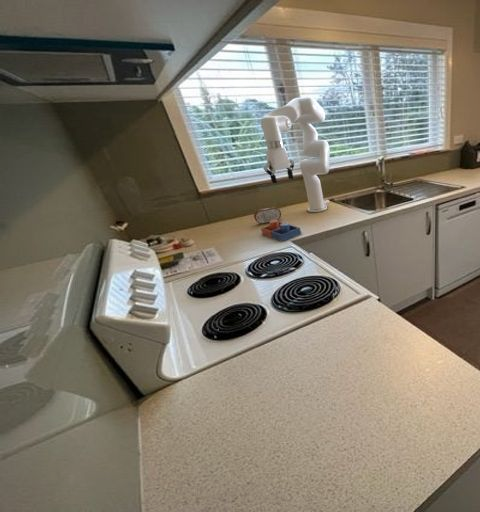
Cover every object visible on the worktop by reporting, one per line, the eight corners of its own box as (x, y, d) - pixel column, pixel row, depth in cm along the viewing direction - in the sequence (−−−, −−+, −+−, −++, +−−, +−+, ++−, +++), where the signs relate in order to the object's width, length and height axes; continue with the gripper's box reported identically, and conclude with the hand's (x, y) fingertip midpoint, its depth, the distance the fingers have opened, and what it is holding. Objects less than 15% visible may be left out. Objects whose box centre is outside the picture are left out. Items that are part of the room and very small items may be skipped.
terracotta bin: (280, 227, 165) (279, 221, 163) (290, 230, 160) (289, 224, 158) (262, 234, 157) (260, 228, 156) (272, 237, 152) (270, 231, 150)
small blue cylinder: (287, 232, 155) (285, 222, 153) (292, 234, 153) (290, 223, 150) (280, 235, 152) (277, 224, 150) (285, 237, 150) (282, 226, 147)
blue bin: (290, 230, 159) (289, 224, 158) (301, 233, 154) (299, 227, 153) (272, 237, 152) (270, 231, 150) (282, 241, 147) (281, 235, 145)
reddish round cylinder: (277, 229, 161) (274, 219, 158) (282, 231, 158) (279, 220, 156) (270, 232, 158) (267, 221, 155) (275, 233, 155) (272, 223, 153)
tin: (281, 218, 180) (278, 204, 176) (283, 219, 177) (279, 206, 174) (256, 224, 173) (252, 210, 169) (257, 225, 171) (253, 211, 167)
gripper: (285, 142, 150) (292, 176, 158) (254, 147, 138) (263, 184, 146) (294, 142, 145) (301, 177, 153) (263, 147, 134) (272, 185, 141)
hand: (283, 180), depth 149 cm, fingers open, 9 cm apart
